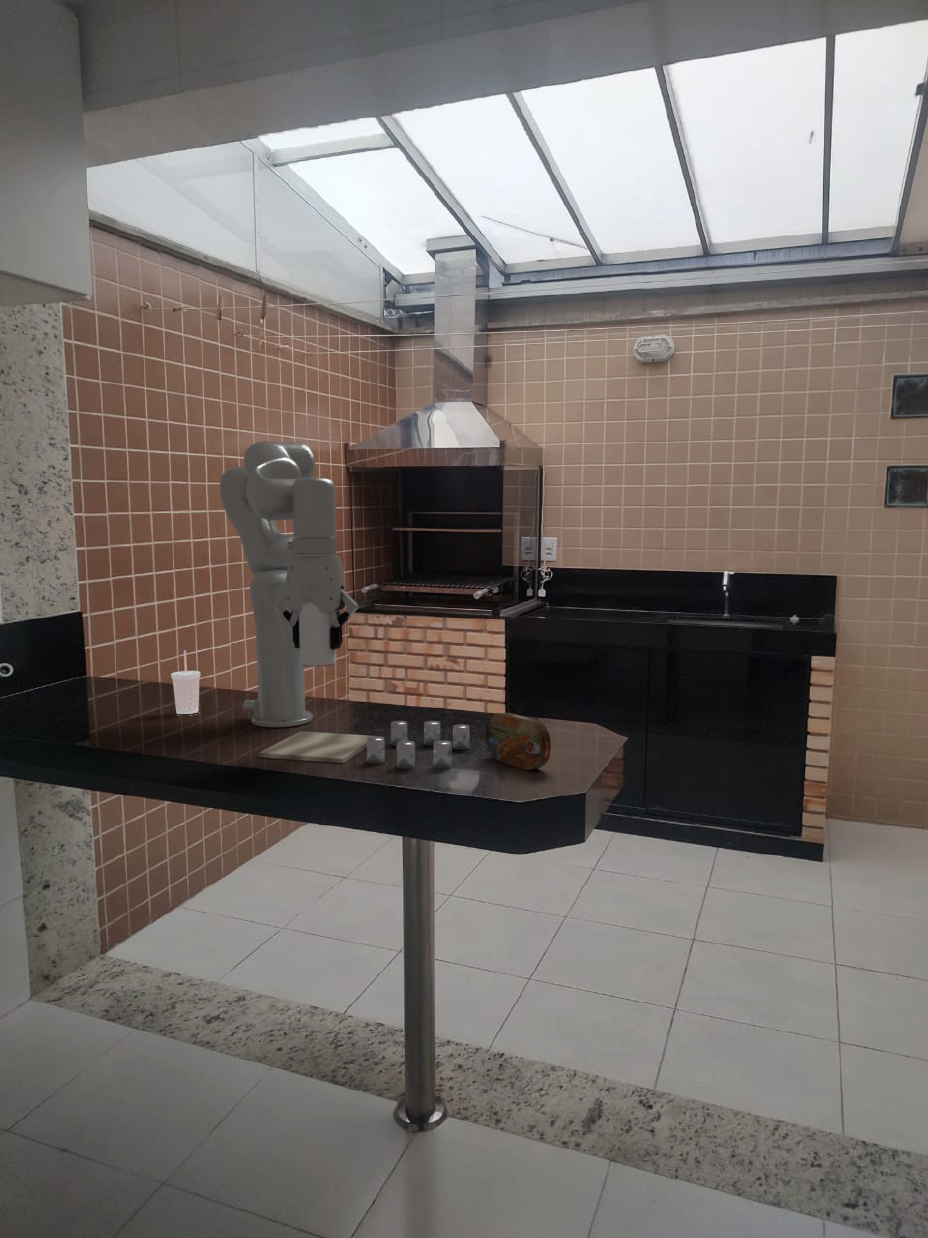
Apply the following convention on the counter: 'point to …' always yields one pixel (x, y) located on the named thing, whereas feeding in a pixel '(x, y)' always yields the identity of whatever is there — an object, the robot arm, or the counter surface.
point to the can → (315, 637)
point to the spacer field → (408, 747)
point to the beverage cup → (186, 690)
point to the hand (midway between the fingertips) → (317, 646)
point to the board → (317, 747)
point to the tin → (518, 741)
